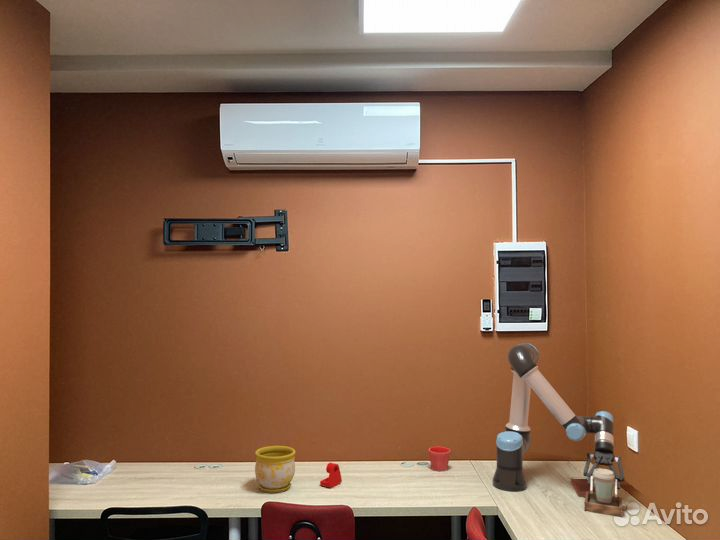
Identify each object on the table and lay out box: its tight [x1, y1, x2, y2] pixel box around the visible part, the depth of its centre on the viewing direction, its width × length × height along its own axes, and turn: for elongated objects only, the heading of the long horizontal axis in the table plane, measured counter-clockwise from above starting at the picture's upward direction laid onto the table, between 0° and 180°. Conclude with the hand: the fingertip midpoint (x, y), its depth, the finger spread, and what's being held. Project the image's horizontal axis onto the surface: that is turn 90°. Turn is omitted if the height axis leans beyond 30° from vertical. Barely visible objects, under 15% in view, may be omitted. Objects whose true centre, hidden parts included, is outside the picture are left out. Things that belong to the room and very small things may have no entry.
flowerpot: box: [254, 445, 296, 494], centre depth 248 cm, size 18×18×16 cm
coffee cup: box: [593, 468, 615, 503], centre depth 229 cm, size 8×8×12 cm
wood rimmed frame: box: [583, 491, 623, 518], centre depth 229 cm, size 14×14×4 cm
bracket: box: [319, 462, 343, 489], centre depth 253 cm, size 9×6×10 cm
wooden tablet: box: [570, 478, 596, 499], centre depth 252 cm, size 27×10×2 cm, turn 169°
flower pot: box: [428, 446, 451, 472], centre depth 277 cm, size 11×11×10 cm
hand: (603, 493), depth 226 cm, fingers closed on coffee cup, 8 cm apart
